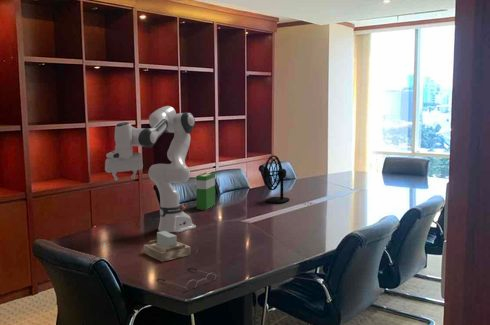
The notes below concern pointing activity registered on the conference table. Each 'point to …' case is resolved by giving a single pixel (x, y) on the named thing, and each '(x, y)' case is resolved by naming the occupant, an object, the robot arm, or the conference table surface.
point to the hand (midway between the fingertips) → (124, 179)
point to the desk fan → (280, 174)
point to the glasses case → (166, 239)
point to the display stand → (166, 251)
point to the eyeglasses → (191, 280)
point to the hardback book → (205, 190)
